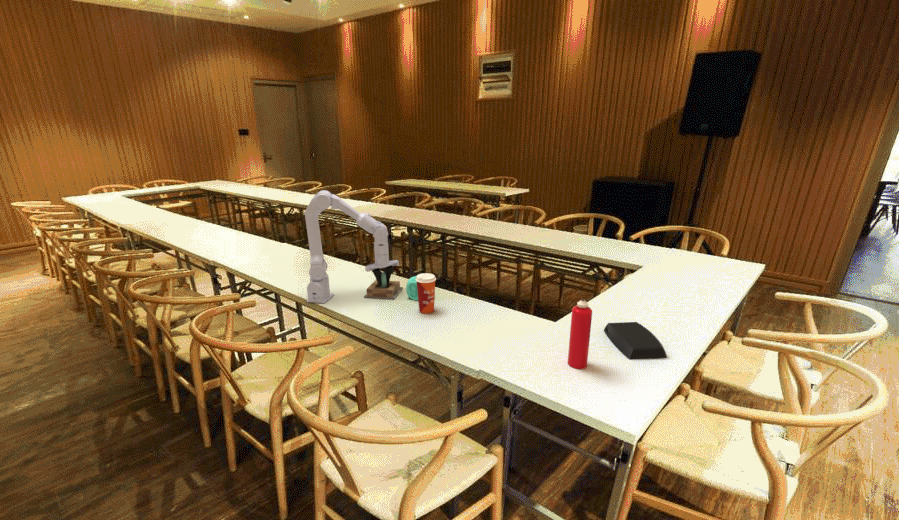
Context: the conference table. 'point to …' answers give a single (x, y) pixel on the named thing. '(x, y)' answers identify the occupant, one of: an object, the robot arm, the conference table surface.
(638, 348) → the external hard drive
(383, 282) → the peg
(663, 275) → the conference table surface
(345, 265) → the conference table surface
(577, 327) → the bottle
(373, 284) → the socket
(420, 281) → the paper cup
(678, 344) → the conference table surface
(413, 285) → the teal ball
